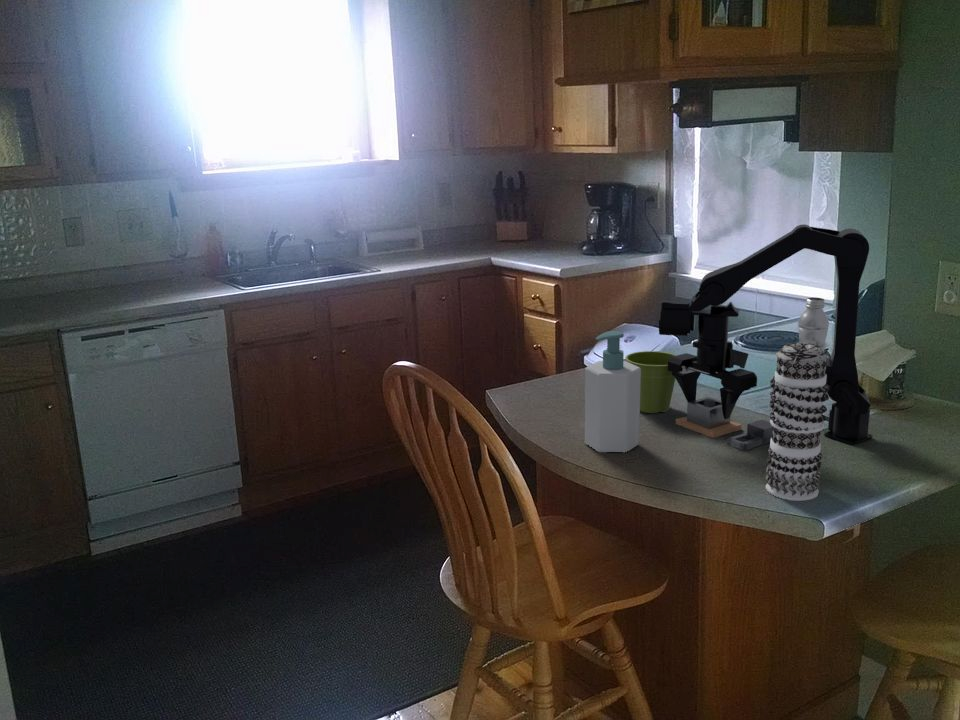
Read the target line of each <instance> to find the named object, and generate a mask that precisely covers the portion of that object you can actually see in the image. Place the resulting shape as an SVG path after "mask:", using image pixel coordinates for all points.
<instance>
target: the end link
mask: <svg viewBox="0 0 960 720" xmlns="http://www.w3.org/2000/svg"><path fill="white" fill-rule="evenodd" d="M705 399H713V400H715V406H714V407H711V408H709V407H706V406H704V400H705ZM686 406H687V407H686V408H687V409H686V416H687V421H688V422H691V423H693V424H696V425H699V426H701V427H704V428H707V429H712V428H715V427H719V426H722V425H726V424H729V423H730V421H731V419H732V418H731V417H732V416H731V415H732V414H731V415H730V417H729V419H724V416H723V411H722V403H721V399H717V398H714V397H710V396H705V397H703V398H702V397H701V398H699V399H698V398H697V399H696V400H694V401H690V402H687V405H686Z"/></svg>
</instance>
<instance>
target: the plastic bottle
mask: <svg viewBox="0 0 960 720" xmlns="http://www.w3.org/2000/svg"><path fill="white" fill-rule="evenodd" d="M805 307H806V309H805V310H804V312H802V314H801V315H800V316H799V318H798V320H797V325H798V337H799V338H798V339H799V341H798V342H802V343H810V344H815V345H817V346H819V347H820V348H821V349H822V350H823V352H824V353H825V348H826V347H825V346H826V339H827V336H828V330H829V326H830V321H829V318H828V315H827V314H826V312H825V311H824V308H825V298H822V297H817V296H816V297H808V298H806V302H805Z"/></svg>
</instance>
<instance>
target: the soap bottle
mask: <svg viewBox="0 0 960 720" xmlns="http://www.w3.org/2000/svg"><path fill="white" fill-rule="evenodd" d="M623 337H625V336H624V333H623V332H621V331H617V330H612V331H611V330H609V331H605V332H603V333H601V334H599V335H597V336H596V337H595V340H596V341H597V342H601V341H604V340H607V344H606V345H607V346H606V347H607V348H606V349H603V351H602V360H598V361H596V362H594V363H592V364H590V365H588V366H586V367H585V368H584V369H585V371H584V372H585V375H584V376H585V377H584V385H585V386H584V444H585V445H587V446H588V445H589V446H588V447H590V448H591V447H592V448H591V449H592V450H593V449H595V451H596V452H597V453H607V452H623V453H622V454H626V453H627V451H628V452H629V451H631V450H632V449H634V448H635V447H636V446H638V445H639V444H640V417H641V416H640V414H641V411H640V384H641V369H640V367H637V366H635V365H633V364H631V363H629V362H628V361H626V360H624V355H625V354H624V350H621V349H620V342H621V340H620V339H621V338H623ZM625 452H626V453H625Z"/></svg>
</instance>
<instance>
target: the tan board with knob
mask: <svg viewBox="0 0 960 720" xmlns="http://www.w3.org/2000/svg"><path fill="white" fill-rule="evenodd" d="M704 406H706V407H709V408H711V407H714V406H715V400H713V399H705V400H704ZM677 424H678V425H677ZM675 425H677V426H680V425H681V427H682V426H684V427H683V428H685V427H687V428H686V429H688V428H689V429H688V430H690V429H692V430H691V431H693V430H695V431H694V432H696V431H698V432H700V433H699V434H701V433H702V434H701V435H704V434H705V435H704V436H706V435H707V437H709V436H710V437H709V438H712V437H713V438H712V439H714V437H715V438H718V437H721V436H724V435H728V434H730V433H734V432H738V431H741V430H742V424H741V423H738V422H735V421H731V420H730V423H729V424H726V425H722V426H719V427H715V428H712V429H707V428H704V427H701V426H699V425H696V424H693V423H691V422H688V421H687V415H686V416H684V417H679V418H675ZM698 432H697V433H698ZM717 436H718V437H717Z"/></svg>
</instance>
